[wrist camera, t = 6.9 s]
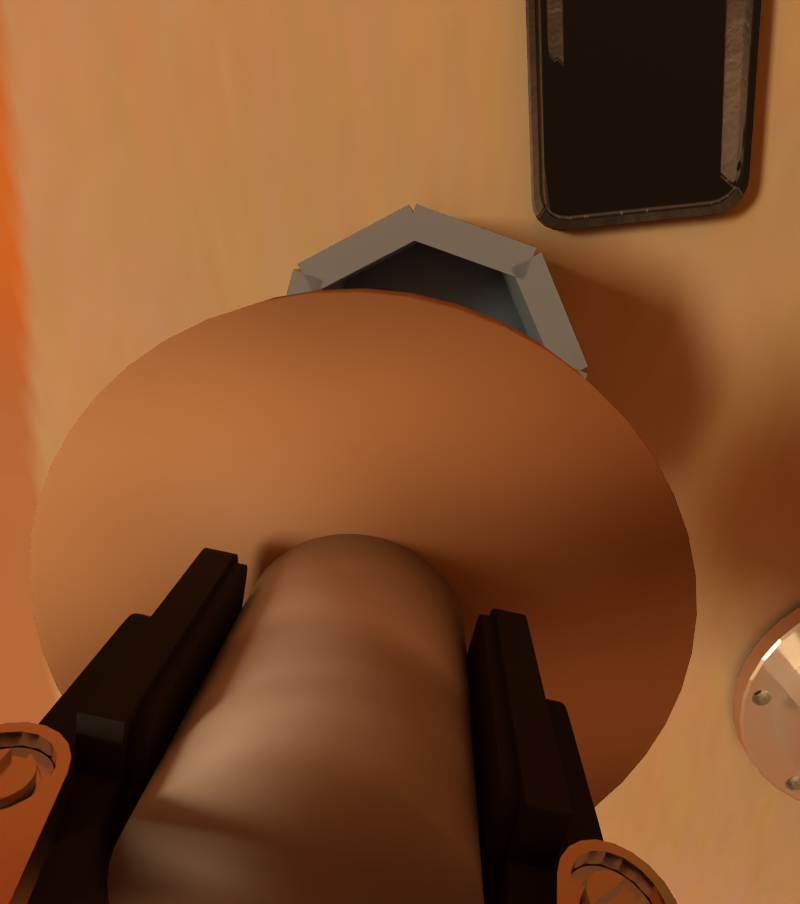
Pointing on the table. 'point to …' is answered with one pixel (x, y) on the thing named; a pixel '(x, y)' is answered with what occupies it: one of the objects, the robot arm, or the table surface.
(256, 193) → the table surface
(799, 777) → the robot arm
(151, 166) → the table surface
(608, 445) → the lid
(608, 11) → the phone
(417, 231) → the bowl
